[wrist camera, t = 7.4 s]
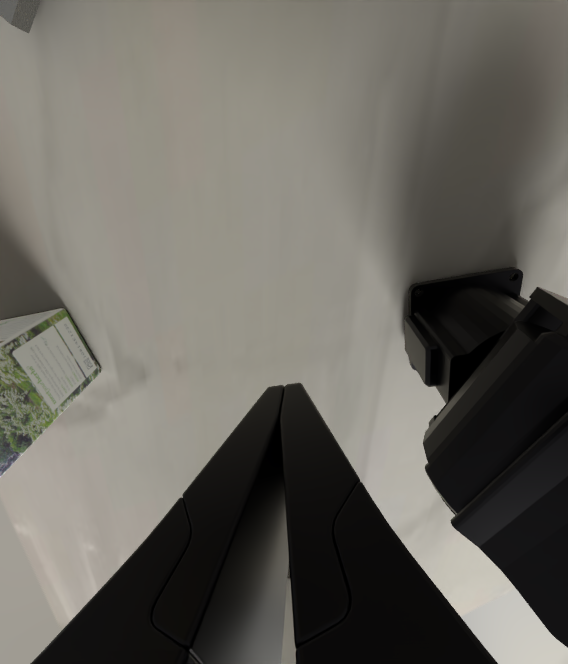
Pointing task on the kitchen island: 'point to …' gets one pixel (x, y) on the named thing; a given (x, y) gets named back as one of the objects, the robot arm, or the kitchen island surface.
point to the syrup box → (38, 377)
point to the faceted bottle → (288, 631)
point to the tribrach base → (19, 12)
